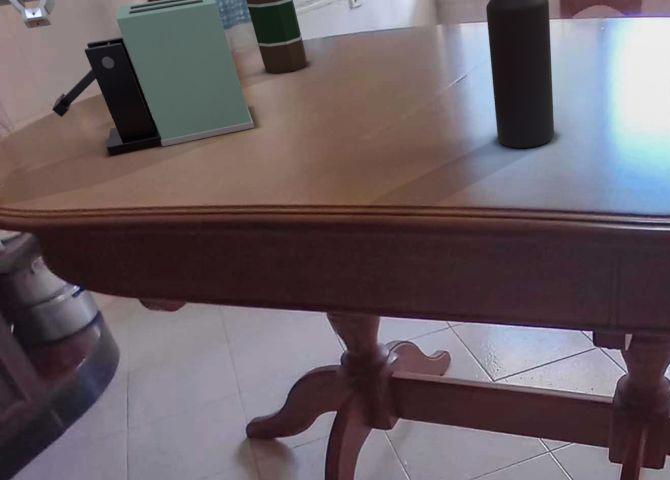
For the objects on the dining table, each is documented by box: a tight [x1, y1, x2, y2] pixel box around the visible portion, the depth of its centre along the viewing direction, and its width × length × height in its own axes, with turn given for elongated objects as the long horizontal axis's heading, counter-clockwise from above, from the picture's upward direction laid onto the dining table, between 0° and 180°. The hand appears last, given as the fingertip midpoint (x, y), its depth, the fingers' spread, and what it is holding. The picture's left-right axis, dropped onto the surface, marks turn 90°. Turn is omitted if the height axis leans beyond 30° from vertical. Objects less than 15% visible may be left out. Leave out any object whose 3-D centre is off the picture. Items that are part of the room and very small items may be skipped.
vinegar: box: [485, 0, 555, 149], centre depth 78 cm, size 7×7×20 cm
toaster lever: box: [51, 42, 111, 118], centre depth 92 cm, size 11×5×2 cm
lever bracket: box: [84, 36, 162, 157], centre depth 95 cm, size 8×9×13 cm
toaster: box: [115, 0, 255, 147], centre depth 96 cm, size 12×10×16 cm
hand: (38, 24), depth 94 cm, fingers closed
